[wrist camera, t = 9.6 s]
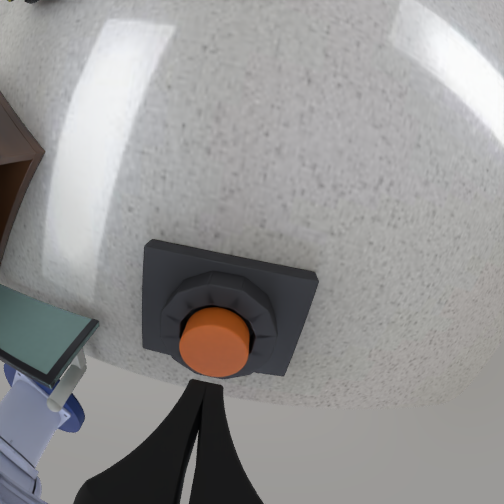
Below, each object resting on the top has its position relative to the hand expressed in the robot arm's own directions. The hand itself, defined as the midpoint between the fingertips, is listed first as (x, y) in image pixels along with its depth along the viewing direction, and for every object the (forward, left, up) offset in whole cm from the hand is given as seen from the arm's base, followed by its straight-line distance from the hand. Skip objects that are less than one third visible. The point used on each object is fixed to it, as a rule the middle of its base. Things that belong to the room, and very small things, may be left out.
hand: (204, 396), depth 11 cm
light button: (0, 0, -5) cm, 5 cm away
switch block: (0, 0, -7) cm, 7 cm away
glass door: (-13, +9, -6) cm, 17 cm away
